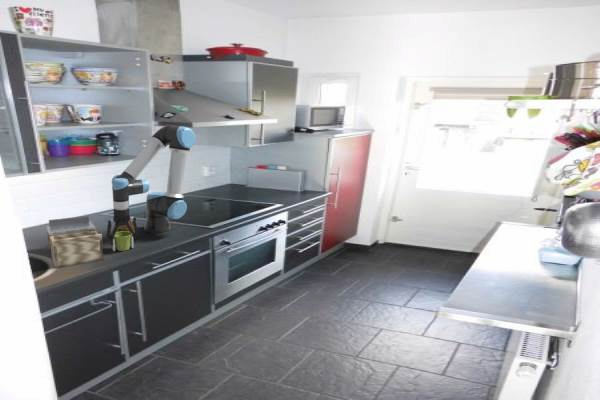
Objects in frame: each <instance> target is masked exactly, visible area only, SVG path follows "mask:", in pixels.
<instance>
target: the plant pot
mask: <svg viewBox="0 0 600 400" xmlns="http://www.w3.org/2000/svg"><path fill="white" fill-rule="evenodd" d="M131 235H132V233H131V232H129V231H120V232H118V231H116V233H115V235H114V239H115V248H116V250H117V251H119V252H126V251H127V250H130V248H131V240H130V238H131Z"/></svg>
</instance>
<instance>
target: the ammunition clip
mask: <svg viewBox="0 0 600 400" xmlns="http://www.w3.org/2000/svg"><path fill="white" fill-rule="evenodd" d="M128 223H129V225H130V227H131V229H132V230H133V232H135V230H134V226H133V223H132V221H131V219H130V220H129V222H128ZM120 231H129V229H128V227H127V226H126V225H122V226H119V227H118V229H117V232H120ZM129 232H130V231H129ZM136 236H137V235H136ZM136 236H135V240H136V239H137V237H136Z"/></svg>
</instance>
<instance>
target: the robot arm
mask: <svg viewBox="0 0 600 400" xmlns="http://www.w3.org/2000/svg"><path fill="white" fill-rule="evenodd" d="M195 142H196V135H195V133H194V131H193V130H192V129H191V128H190V127H186V126H184V125H183V126H181V125H175V124H167V125H164V126H163V127H161V128H159V129H157V131H156V132H155V133H154V134H152V136H151V137H150V141H148V143H147V144H146V145H145V147H143V148H142V150H141V151H140V152H139V153H138V155H136V156H135V158H134V159H133V160H132V161H131V162H130V163H129V165H128V166H127V167H126V168H125V169H124V170H123V172H121V173H120V174H116V175H115V176H113V177H112V179H111V189H112V191H111V192H112V205H113V218H112V219H111V218H110V219H109V218H108V219H107V221H106V222H107V228H106V232H105V238H106V239H108V240H109V244H110V245H111V247H112V249H111V250H112V251H113V252H116V243H115V238H114V235H115V233H116V232H118V229H119V226H122V225H126V226H127V227H128V229H129V231H130V232H131V233H132V235H131V238H130V248H132V249H134V248H135V247H134V242H136V239H135V236H137V235H139V233H140V232H139V228H138V226H137V222H136V221H137V218H136V217H135V216H130V196H137V195H140V194H141V195H142V194H146V193H148V192H149V190H150V182H149V181H148V180H147V179H146V178H143V179H137V178H138V177H139V176H140V175H141V173H143V171H145V169H146V167H148V166H149V164H150V163H151V162H152V160H154V158H155V157H156V156H157V155H158V154H159V153H160V151H161V150H164V149H166V147H168V149H169V150H170V152H171V153H170V159H169V169H168V174H167V175H168V177H167V185H166V192H165V191H156V192H150V193H148V194H147V195H146V220H145V224H144V227H143V229H144V231H145V232H146V233H147V232H148V233H153V234H156V233H157V234H158V233H165V232H167V231H169V230H171V224H170V220H169V219H174V220H178V219H181V218H182V217H183V216H184V215H185V214H186V213H187V209H188V206H187V203H186V202H185V201H184V200H185V195H184V194H183V185H184V177H185V169H186V160H187V154H188V153H189V152H190V149H191V148H192V147H194V145H195ZM130 219H131V224H132V223H133V226H134V230H135V232H133V230H132V229H131V227H130V225H129V223H128V222H129V220H130ZM113 223H114V227H113V228H112V224H113ZM111 230H112V231H111Z"/></svg>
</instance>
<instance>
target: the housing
mask: <svg viewBox="0 0 600 400" xmlns="http://www.w3.org/2000/svg"><path fill="white" fill-rule="evenodd" d="M46 234H47V245H48V246H47V247H48V249H49V250H50V251H51V259H52V262H53V265H54V266H55V269H58V268H64V267H70V266H75V265H82V264H86V263H93V262H94V263H95V262H100V261H104V252H103V251H104V250H103V234H102V233H99V232H98V231H97V230H96V229H95V230H88V231H80V232H73V233H65V234H57V235H49V232H48V230H47V229H46ZM99 260H100V261H99Z"/></svg>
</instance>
